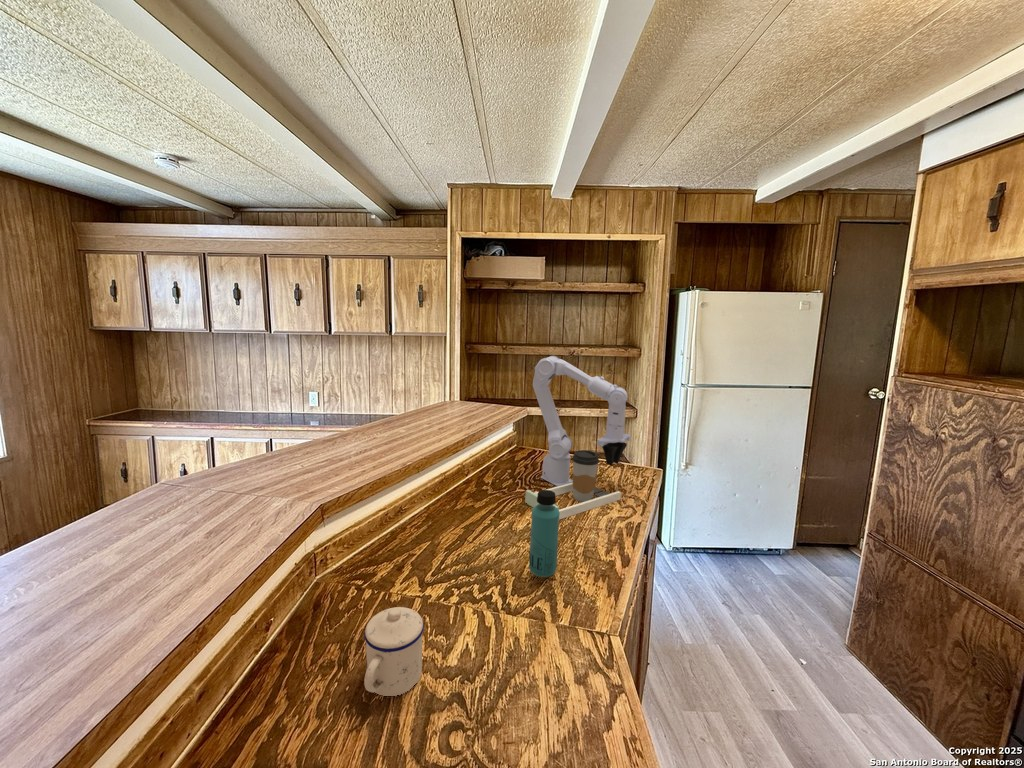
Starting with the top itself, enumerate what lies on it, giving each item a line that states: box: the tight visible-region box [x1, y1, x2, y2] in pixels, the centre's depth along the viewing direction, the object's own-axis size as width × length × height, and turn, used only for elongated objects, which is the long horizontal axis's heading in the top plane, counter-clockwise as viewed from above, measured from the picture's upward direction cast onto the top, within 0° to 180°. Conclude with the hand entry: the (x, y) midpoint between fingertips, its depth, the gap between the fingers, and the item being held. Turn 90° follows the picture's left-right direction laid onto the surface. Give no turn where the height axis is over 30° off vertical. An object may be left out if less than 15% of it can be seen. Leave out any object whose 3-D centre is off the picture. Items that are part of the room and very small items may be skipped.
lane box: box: [534, 482, 622, 521], centre depth 139 cm, size 14×28×2 cm, turn 126°
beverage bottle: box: [528, 489, 560, 578], centre depth 98 cm, size 6×7×20 cm
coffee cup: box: [572, 449, 600, 503], centre depth 141 cm, size 8×8×15 cm
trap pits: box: [593, 486, 611, 498], centre depth 146 cm, size 11×5×1 cm, turn 36°
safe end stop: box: [524, 489, 560, 510], centre depth 131 cm, size 14×1×4 cm, turn 36°
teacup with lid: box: [363, 606, 425, 697], centre depth 69 cm, size 12×9×12 cm
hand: (612, 463), depth 148 cm, fingers open, 2 cm apart
